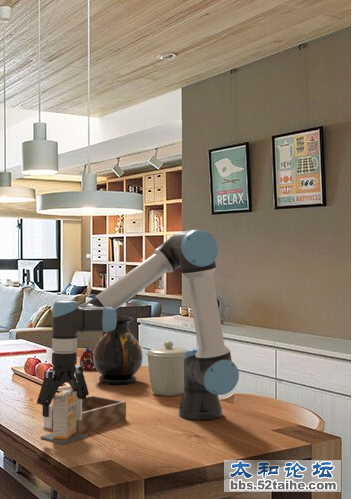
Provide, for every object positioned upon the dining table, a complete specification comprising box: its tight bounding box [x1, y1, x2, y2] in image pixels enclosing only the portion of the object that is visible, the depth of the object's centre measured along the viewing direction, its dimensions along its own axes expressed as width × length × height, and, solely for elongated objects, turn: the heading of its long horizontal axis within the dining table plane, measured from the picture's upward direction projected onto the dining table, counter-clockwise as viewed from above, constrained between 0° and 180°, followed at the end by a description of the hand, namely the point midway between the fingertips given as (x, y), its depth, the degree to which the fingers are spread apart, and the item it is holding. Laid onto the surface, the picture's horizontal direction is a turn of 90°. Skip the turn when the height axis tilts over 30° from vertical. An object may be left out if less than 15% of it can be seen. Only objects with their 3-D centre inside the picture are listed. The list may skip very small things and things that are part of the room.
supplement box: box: [52, 389, 77, 439], centre depth 198 cm, size 8×5×13 cm, turn 168°
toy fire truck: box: [79, 347, 95, 371], centre depth 316 cm, size 7×12×10 cm, turn 110°
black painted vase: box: [93, 316, 144, 386], centre depth 285 cm, size 22×22×28 cm
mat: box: [40, 432, 89, 445], centre depth 198 cm, size 10×10×1 cm
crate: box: [50, 394, 127, 434], centre depth 217 cm, size 22×16×6 cm
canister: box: [145, 340, 187, 397], centre depth 262 cm, size 18×18×21 cm
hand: (63, 423), depth 198 cm, fingers open, 12 cm apart
